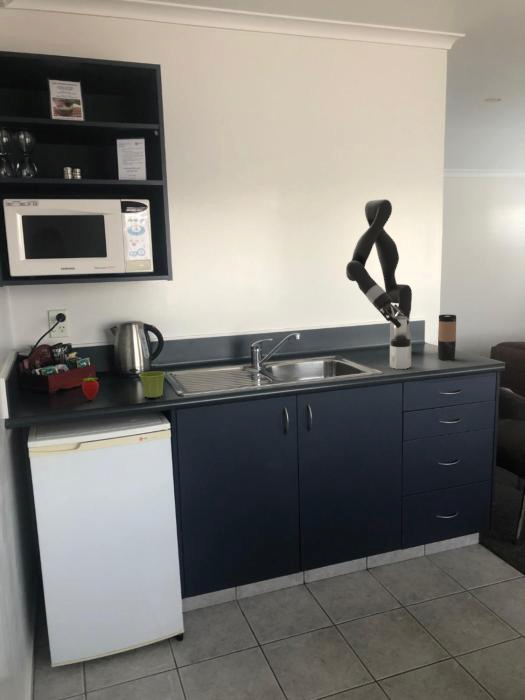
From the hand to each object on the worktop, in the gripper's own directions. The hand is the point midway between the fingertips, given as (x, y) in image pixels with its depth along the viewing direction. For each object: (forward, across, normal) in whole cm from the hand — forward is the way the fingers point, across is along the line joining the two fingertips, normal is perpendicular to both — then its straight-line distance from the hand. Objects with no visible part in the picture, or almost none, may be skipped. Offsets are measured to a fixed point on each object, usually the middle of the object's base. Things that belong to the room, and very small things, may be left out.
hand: (403, 325), depth 238 cm
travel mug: (+20, +26, +6) cm, 33 cm away
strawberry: (-40, -104, +66) cm, 130 cm away
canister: (+4, 0, +6) cm, 7 cm away
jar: (+12, 0, +14) cm, 19 cm away
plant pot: (-28, -89, +54) cm, 108 cm away
